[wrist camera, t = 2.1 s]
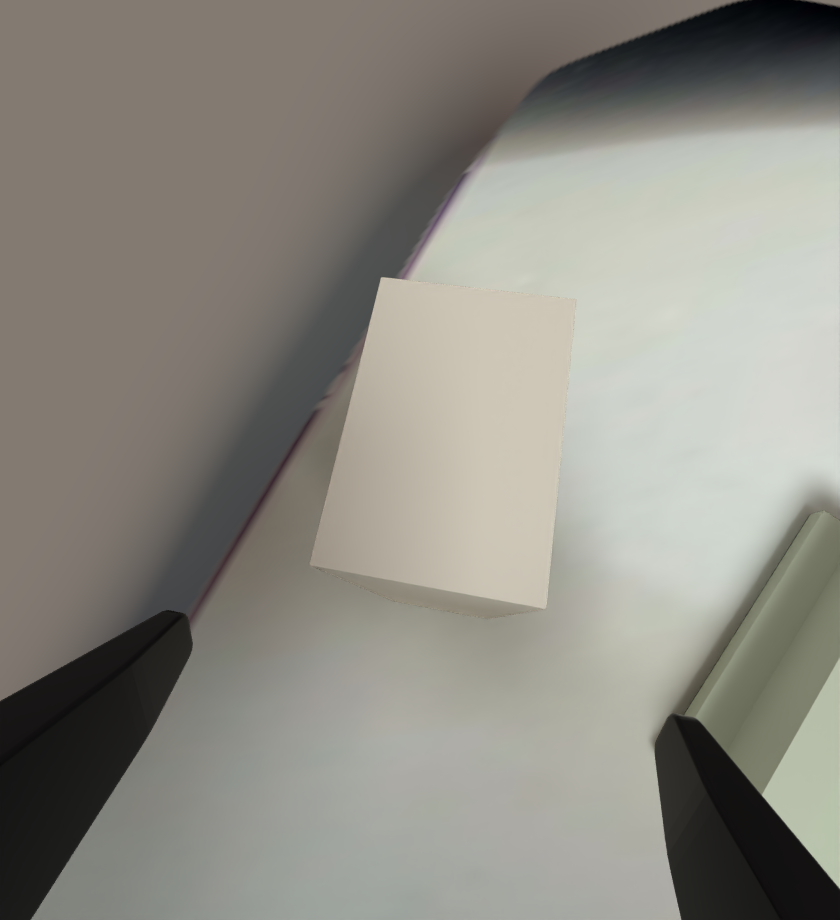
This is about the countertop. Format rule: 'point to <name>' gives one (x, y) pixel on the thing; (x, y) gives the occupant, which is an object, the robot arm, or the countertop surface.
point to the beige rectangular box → (452, 450)
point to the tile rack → (788, 692)
